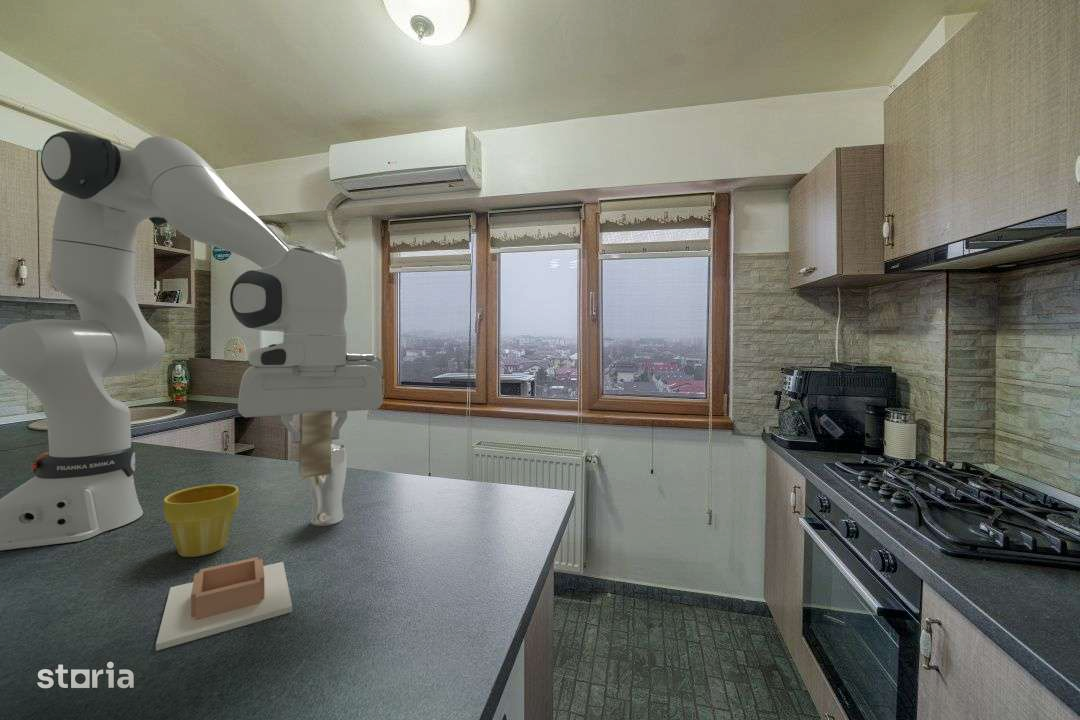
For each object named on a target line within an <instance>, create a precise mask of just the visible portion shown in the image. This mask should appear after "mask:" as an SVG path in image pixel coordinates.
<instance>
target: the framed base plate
mask: <svg viewBox="0 0 1080 720" xmlns="http://www.w3.org/2000/svg"><path fill="white" fill-rule="evenodd" d="M285 569H286V568H285V564H284V561H280V562H276V563H271V564H266V565H264V560H263V558H260V559H259V556H257V557H251V558H246V559H242V560H238V561H233V562H229V563H224V564H219V565H215V566H210V567H205V568H200V569H199V571H198V573H194V576H193V581H192V582H187V583H183V584H178V585H176V586H171V587H170V588H169V591H168V596H167V598H166V599H167V600H166V603H165V607H164V612H163V615H162V619H161V622H160V623H161V624H160V626H159V631H158V634H157V638H156V643H155V651H161V650H164V649H167V648H170V647H171V648H172V647H174V646H178V645H182V644H185V643H188V642H192V641H195V640H200V639H203V638H205V637H206V638H207V637H210V636H213V635H216V634H219V633H222V632H224V633H225V632H227V631H231V630H233V629H236V628H242V627H245V626H247V625H251V624H255V623H259V622H261V621H265V620H268V619H272V618H275V617H279V616H282V615H286V614H289V613H293V604H292V600H291V594H290V589H289V584H288V579H287V573H286V570H285Z"/></svg>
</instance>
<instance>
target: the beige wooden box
mask: <svg viewBox="0 0 1080 720" xmlns="http://www.w3.org/2000/svg"><path fill="white" fill-rule="evenodd" d="M332 413H333V412H332V411H324V412H308V413H302V414H298V416H299V418H298V419H299V422H298V423H299V424H298V426H299V427H298V430H300V431H301V437H300V438H301V443H298V472H299V474H300V476H301V479H305V478H309V477H314V476H321V475H328V474H331V443H332V440H331V427H332Z"/></svg>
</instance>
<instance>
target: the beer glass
mask: <svg viewBox="0 0 1080 720" xmlns="http://www.w3.org/2000/svg"><path fill="white" fill-rule="evenodd" d="M347 464H348V463H347V451H346V445H345V443H344V444H343V443H338V442H337V443H336V442H335V443H334V442H331V474H328V475H321V476H314V477H308V482H309V487H310V488H309V489H310V493H311V498H312V512H311V516H310V524H311V525H313V526H316V527H317V526H318V527H327V526H331V525H332V526H333V525H335V524H338V523H341V522H342V521H343V520H344V517H345V515H344V509H343V501H342V500H343V493H344V489H345V482H346V476H347V466H348V465H347Z"/></svg>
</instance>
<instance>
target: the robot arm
mask: <svg viewBox="0 0 1080 720" xmlns="http://www.w3.org/2000/svg"><path fill="white" fill-rule="evenodd" d="M40 164H41V169H42V173H43V174H44V176H45V178H46V179H47V181H48V183H49V184H50V185H51V186H52V187H53V188H55V189H57V190H59V191H60V192H63V193H62V194H61V195H60V196H61V197H60V199H59V202H58V205H57V208H56V213H55V216H54V221H53V228H52V237H51V254H50V276H49V279H50V282H51V284H52V286H53V287H54V288H55V289H56V290H57V291H58V292H60V293H61V294H63V295H64V296H66V297H67V298H69V299H70V300H72V301H73V302H74V304H75V306H76V307H77V309H78V313H79V316H80V320H79V319H55V318H54V319H53V318H51V319H50V318H45V319H35V320H29V321H21V322H14V323H11V324H8V325H7V326H4V327H3V328H2V329H1V330H0V371H2V373H4V374H5V375H7V376H8V377H11V378H13V379H15V380H17V381H19V382H20V383H22V384H23V385H24V386H26V387H27V388H28V389H29V390H30V391H31V392H32V393H33V394H34V395H35V396H36V398H37V400H39V402H40V405H41V406H42V409H43V411H44V415H45V417H46V424H47V425H46V427H47V436H48V437H47V439H48V451H46V452H43V453H40V454H39V455H37V457H36V459H35V460H34V461H33V462H32V464H31V468H30V469H31V472H32V473H33V475H34V476H33V477H32V478H30V479H28V480H27V481H25V482H24V483H22V484H21V485H19V486H18V487H16V488H15V489H13V490H12V491H10V492H8V493H7V494H5V495H4V496H3V497H1V498H0V551H7V550H14V549H24V548H33V547H40V546H48V545H57V544H66V543H73V542H80V541H85V540H88V539H91V538H93V537H95V536H97V535H99V534H102V533H105V532H107V531H110V530H113V529H117V528H120V527H122V526H125V525H127V524H131V523H132V522H134V521H136V520H138V519H139V518H140V517H141V516H143V514H144V511H143V508H142V506H141V504H140V502H139V497H138V494H137V491H136V486H135V480H134V474H135V470H136V452H135V447H134V445H132V431H131V430H132V426H131V425H132V424H131V423H132V421H131V419H132V417H131V416H132V415H131V410H130V407H129V406H128V405H127V404H126V403H125V402H123V401H121V400H119V399H116V398H113V397H112V396H111V395H109V393H108V391H107V389H106V388H105V386H104V383H103V378H108V377H109V378H111V377H112V378H113V377H122V376H132V375H136V374H140V373H143V372H146V371H150V370H152V369H154V368H156V367H157V366H159V364H161V363H162V361H163V359H164V357H165V354H166V345H165V342H164V338H163V337H162V336H161V334H160V333H159V332H158V331H157V330H156V329H154V327H152V326H151V325H150V323H148V321H147V320H146V319H145V317H144V315H143V314H142V312H141V308H140V306H139V303H138V300H137V296H136V295H137V294H136V289H135V288H136V287H135V285H136V284H135V280H136V279H135V277H136V276H135V272H136V271H135V270H136V251H137V250H136V249H137V246H136V245H137V243H136V242H137V240H136V239H137V228H138V226H139V225H140V223H141V222H143V221H144V220H146V219H148V220H149V221H150V222H151V223H152V224H154V226H163V225H166V224H167V223H169V225H171V227H173V228H174V229H176V230H177V231H178V232H179V233H181V234H182V235H183V236H185V237H187V238H189V239H191V240H194V241H196V242H198V243H202V244H205V245H207V246H212V247H215V248H218V249H221V250H224V251H227V252H230V253H233V254H235V255H238V256H240V257H242V258H245V259H247V260H249V261H251V262H253V263H255V264H256V265H257V266H258V267H259V269H254V270H247V271H245V272H243V273H242V274H241V275H239V276H238V277H237V278H236V279H235V281H234V282H233V284H232V286H231V289H230V292H229V293H230V294H229V302H230V303H229V304H230V308H231V311H232V314H233V315H234V318H235V319H236V320H237V321H238V322H239V323H240V324H241V325H242V326H243V327H245V328H248V329H253V330H257V331H264V332H267V331H268V332H281V333H283V335H282V336H283V340H282V342H280V343H277V344H276V343H274V344H268V346H264V347H260V348H257V349H253V350H251V351H250V352H249V353H248V362H249V364H250V365H251V366H249V367H248V368H246V370H245V371H244V373H243V375H242V377H241V382H240V386H239V393H238V401H237V412H238V414H240V415H241V416H242V417H243V418H257V417H276V416H281V422H282V423H283V425H284V427H285V428H286V429H287V431H288V432H289V438H288V439H289V444H291V445H292V444H299V443H301V438H300V437H301V431H300V430H299V429H294V427H293V426H292V425H291V422H292V423H293V421H294V415H299V414H302V413H308V412H324V411H332V413H335V417H336V418H337V419H336V421H335V423H334V424H333V426H331V441H332V440H333V441H334V440H340V429H341V428H342V427H343V425H344V424H345V422H346V420H347V419H348V412H356V411H357V412H358V411H371V410H378V409H380V407H381V406H382V405H383V403H384V402H383V398H384V397H383V388H382V387H383V385H382V380H381V379H382V377H383V374H384V364H383V361H382V360H381V358H379V357H377V356H375V354H372V353H367V354H357V353H347V338H348V337H347V331H346V327H345V316H346V313H347V309H348V288H347V286H348V285H347V274H346V269H345V266H344V264H343V261H342V260H341V259H339V258H338V257H337V256H336V255H333V254H330V253H326V252H322V251H319V250H318V251H317V250H315V249H311V248H310V249H309V248H304V247H293V248H292V247H290V246H289V244H287V243H286V242H285V241H284V240H283V238H281V237H280V236H279V235H278V234H277V233H276V232H275V231H274V230H273V229H272V228H271V227H269V226H268V225H267V224H266V223H265V222H264V221H263V220H261V218H260V217H259V216H257V214H256V213H254V211H252V210H251V209H250V208H249V207H248V206H247V205H246V204H245V203H243V201H242V200H241V199H240V198H239V197H238V196H237V194H235V193H234V191H232V189H230V187H229V186H228V185H227V183H225V182H224V180H223V179H222V178H221V176H219V174H218V173H217V172H216V170H214V168H213V167H212V166H211V165H210V164H209V163H208V162H207V161H206V160H205V159H204V158H203V157H202V156H201V155H199V153H197V152H196V151H195V150H193V148H191V147H190V146H189V145H187V144H185V143H184V142H183V141H181V140H179V139H177V138H173V137H170V136H163V135H160V136H159V135H158V136H150V137H147V138H145V139H143V140H141V141H140V142H139V143H137V145H135V147H134V149H131V148H129V147H126V146H123V145H120V144H118V143H115V142H111V140H109V139H107V138H104V137H99V136H96V135H92V134H88V133H83V132H77V131H71V130H70V131H69V130H64V131H60V132H57V133H56V134H53V135H50V136H49V137H48V138H47V140H46V141H45V143H44V145H43V147H42V150H41V155H40Z"/></svg>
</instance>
